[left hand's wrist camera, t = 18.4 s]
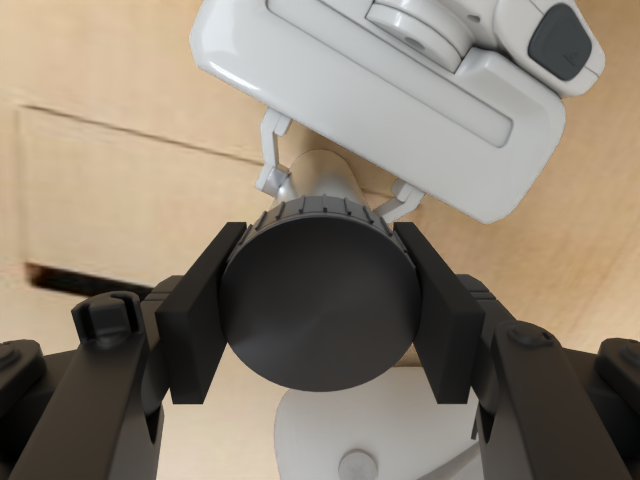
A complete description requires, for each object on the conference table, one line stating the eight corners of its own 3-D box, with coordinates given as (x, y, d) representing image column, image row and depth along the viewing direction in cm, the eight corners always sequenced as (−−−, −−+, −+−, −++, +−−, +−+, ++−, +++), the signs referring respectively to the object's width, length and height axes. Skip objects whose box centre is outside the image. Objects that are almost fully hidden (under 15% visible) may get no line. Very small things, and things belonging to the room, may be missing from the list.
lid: (441, 283, 12) (466, 320, 10) (314, 375, 14) (313, 423, 12) (326, 152, 11) (328, 163, 8) (197, 272, 12) (170, 307, 10)
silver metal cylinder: (309, 225, 29) (294, 389, 12) (274, 171, 27) (200, 274, 10) (364, 193, 28) (432, 323, 11) (331, 135, 26) (352, 184, 9)
